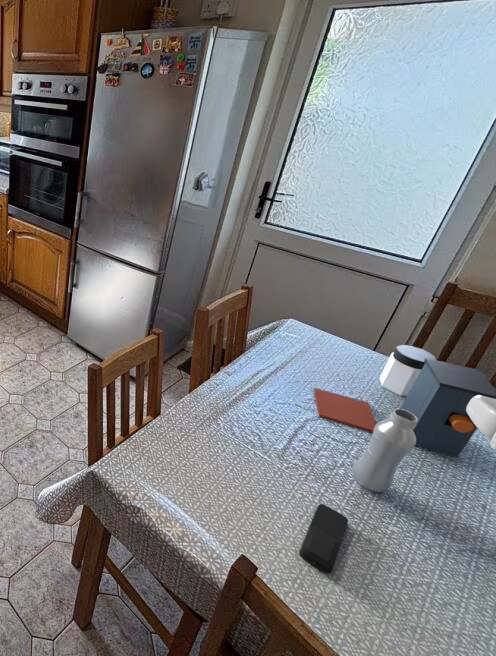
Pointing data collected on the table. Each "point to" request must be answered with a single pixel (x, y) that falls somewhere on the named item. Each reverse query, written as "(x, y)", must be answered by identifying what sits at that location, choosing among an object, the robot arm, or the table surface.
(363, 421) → the mat
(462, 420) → the tap button
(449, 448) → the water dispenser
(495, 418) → the robot arm
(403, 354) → the jar
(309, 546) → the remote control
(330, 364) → the table surface
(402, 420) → the plastic bottle
